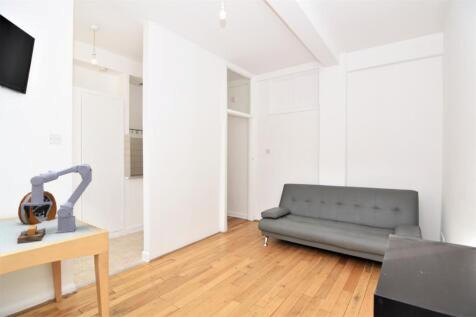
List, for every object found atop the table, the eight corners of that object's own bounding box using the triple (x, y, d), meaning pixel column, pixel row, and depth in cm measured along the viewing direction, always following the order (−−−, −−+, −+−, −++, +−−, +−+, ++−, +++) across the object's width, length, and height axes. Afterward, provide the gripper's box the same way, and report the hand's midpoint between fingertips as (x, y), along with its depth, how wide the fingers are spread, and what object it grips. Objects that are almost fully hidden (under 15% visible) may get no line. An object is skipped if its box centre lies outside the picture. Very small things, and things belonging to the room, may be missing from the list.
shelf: (45, 233, 148) (45, 225, 148) (41, 240, 135) (41, 232, 135) (23, 235, 143) (23, 227, 142) (17, 243, 130) (17, 235, 130)
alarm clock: (29, 226, 161) (30, 192, 161) (17, 225, 163) (17, 191, 163) (59, 218, 183) (59, 188, 183) (47, 217, 184) (48, 187, 184)
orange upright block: (36, 234, 142) (36, 225, 142) (34, 238, 136) (34, 228, 136) (30, 235, 141) (30, 226, 141) (27, 239, 135) (27, 229, 135)
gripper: (20, 197, 141) (19, 220, 141) (51, 195, 148) (51, 217, 148) (22, 195, 146) (22, 217, 147) (52, 194, 154) (52, 215, 154)
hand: (37, 217), depth 148 cm, fingers open, 7 cm apart
